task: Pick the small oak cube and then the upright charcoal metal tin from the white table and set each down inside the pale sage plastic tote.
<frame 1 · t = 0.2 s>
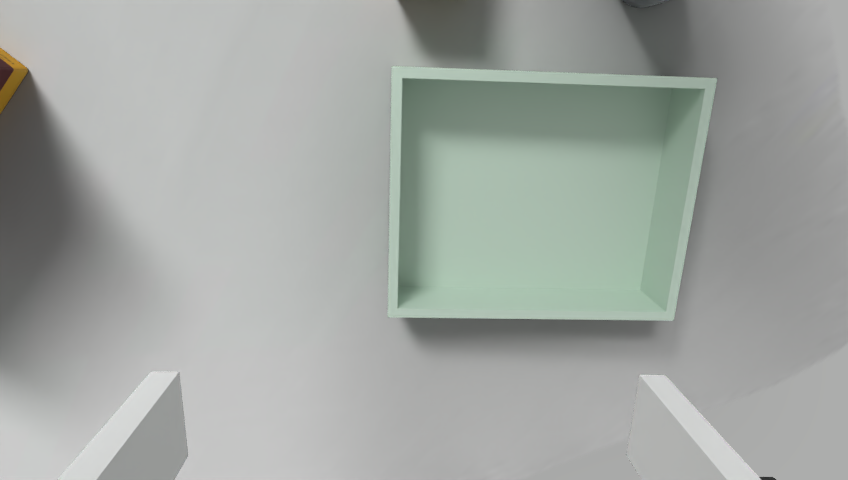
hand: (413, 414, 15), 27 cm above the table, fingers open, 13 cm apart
tote: (527, 190, 41), on the table
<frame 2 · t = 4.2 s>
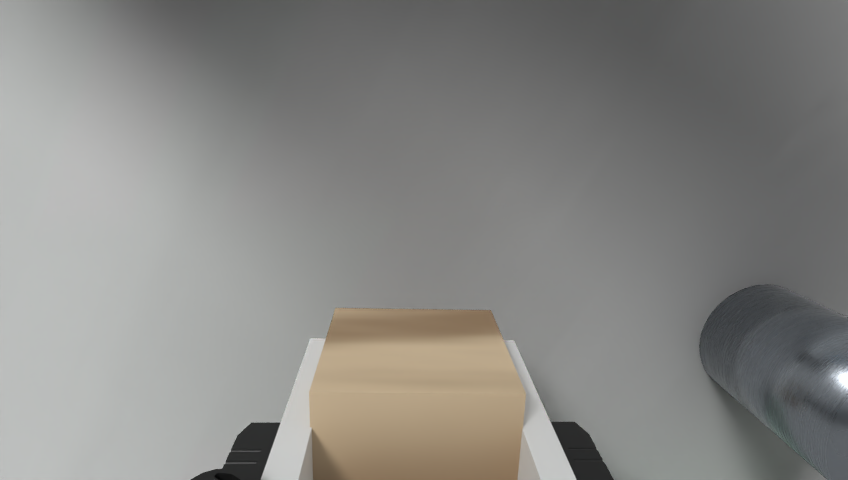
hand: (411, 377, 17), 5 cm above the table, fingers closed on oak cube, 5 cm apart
oak cube: (411, 378, 18), point 4 cm above the table, touching gripper
grey tin: (756, 339, 23), on the table
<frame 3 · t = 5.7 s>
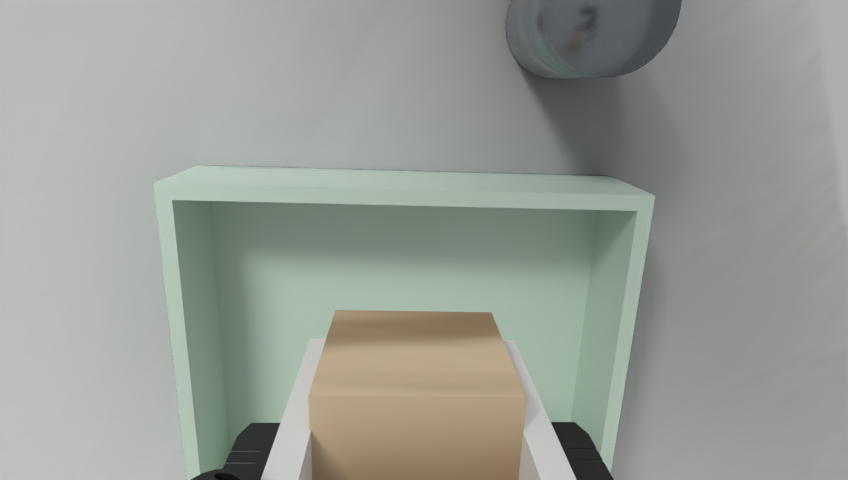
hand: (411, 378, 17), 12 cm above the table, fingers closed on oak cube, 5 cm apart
tote: (404, 324, 30), on the table
oak cube: (411, 381, 18), point 12 cm above the table, touching gripper
grey tin: (556, 24, 26), on the table
when the fingers open (1 cm above the table, at t = 7.5 s): oak cube stays where it is, resting on tote.
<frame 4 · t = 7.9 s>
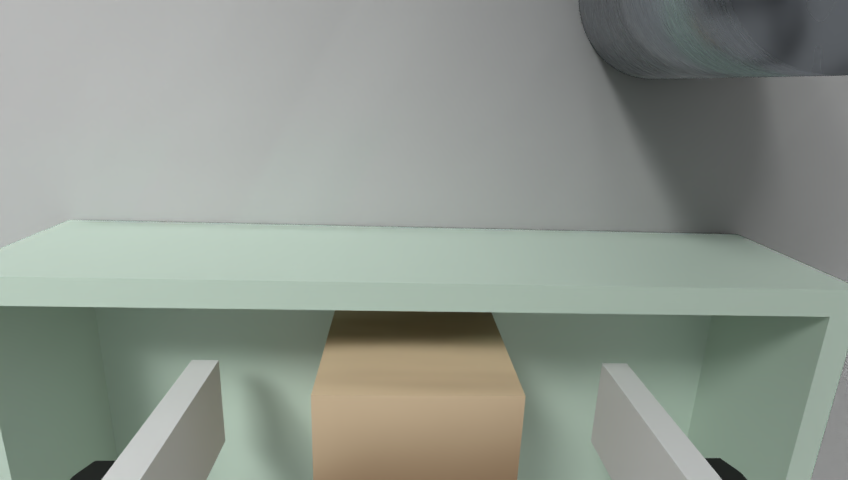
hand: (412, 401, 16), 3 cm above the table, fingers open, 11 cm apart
tote: (407, 456, 19), on the table
oak cube: (411, 377, 18), point 1 cm above the table, touching tote
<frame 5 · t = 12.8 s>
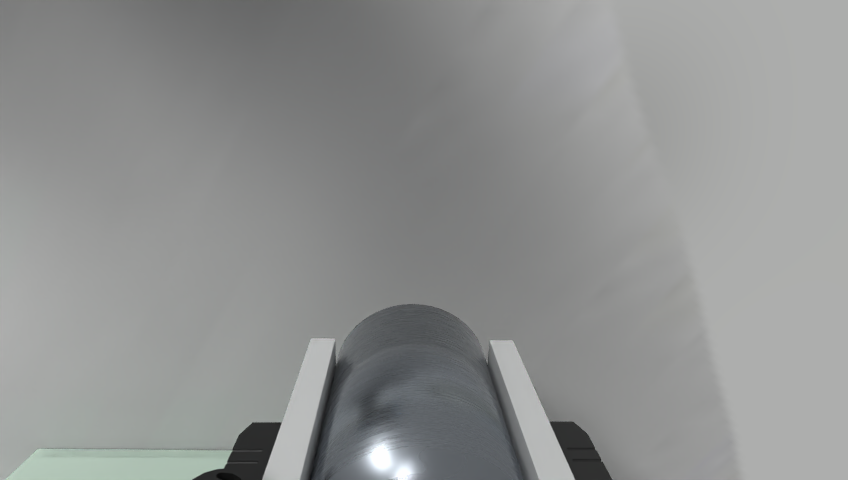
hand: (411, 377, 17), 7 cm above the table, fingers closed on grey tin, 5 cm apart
grey tin: (411, 373, 18), point 6 cm above the table, touching gripper
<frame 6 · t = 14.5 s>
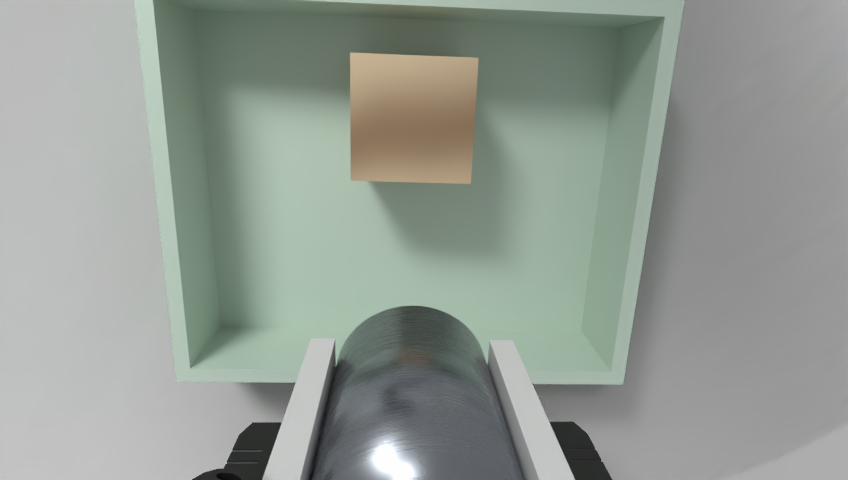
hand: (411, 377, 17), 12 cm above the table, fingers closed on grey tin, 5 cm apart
tote: (407, 184, 28), on the table
oak cube: (410, 114, 26), point 1 cm above the table, touching tote
grey tin: (411, 375, 18), point 12 cm above the table, touching gripper
when the fingers open (1 cm above the table, at t = 16.3 s): grey tin stays where it is, resting on tote.
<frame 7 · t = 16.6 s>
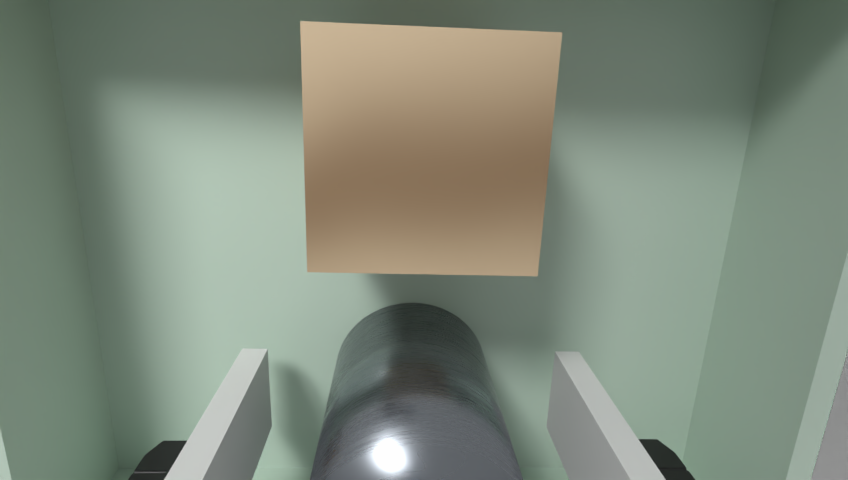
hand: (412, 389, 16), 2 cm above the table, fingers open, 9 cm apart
tote: (414, 248, 17), on the table
oak cube: (419, 136, 16), point 1 cm above the table, touching tote
grey tin: (410, 371, 18), point 1 cm above the table, touching tote
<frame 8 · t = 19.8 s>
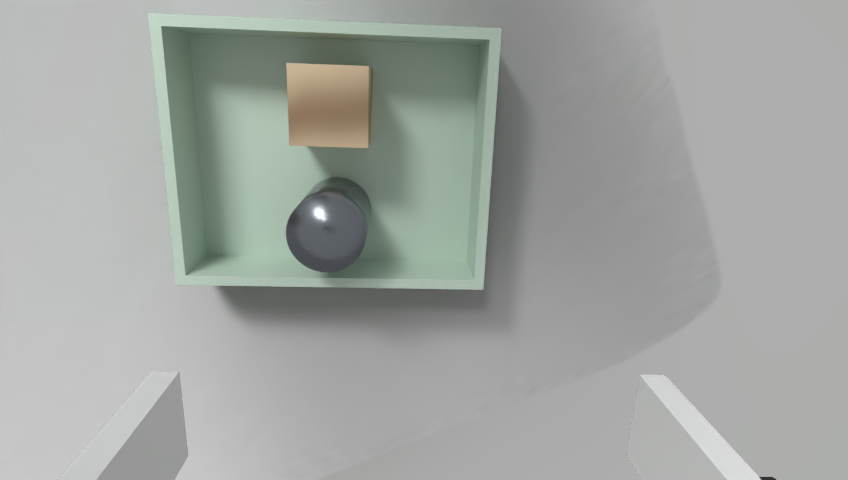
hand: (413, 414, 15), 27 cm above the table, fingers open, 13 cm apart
tote: (338, 153, 39), on the table
oak cube: (337, 103, 38), point 1 cm above the table, touching tote
grey tin: (338, 209, 40), point 1 cm above the table, touching tote
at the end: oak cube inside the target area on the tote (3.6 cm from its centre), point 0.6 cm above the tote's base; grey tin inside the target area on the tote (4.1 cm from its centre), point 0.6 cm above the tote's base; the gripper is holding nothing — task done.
